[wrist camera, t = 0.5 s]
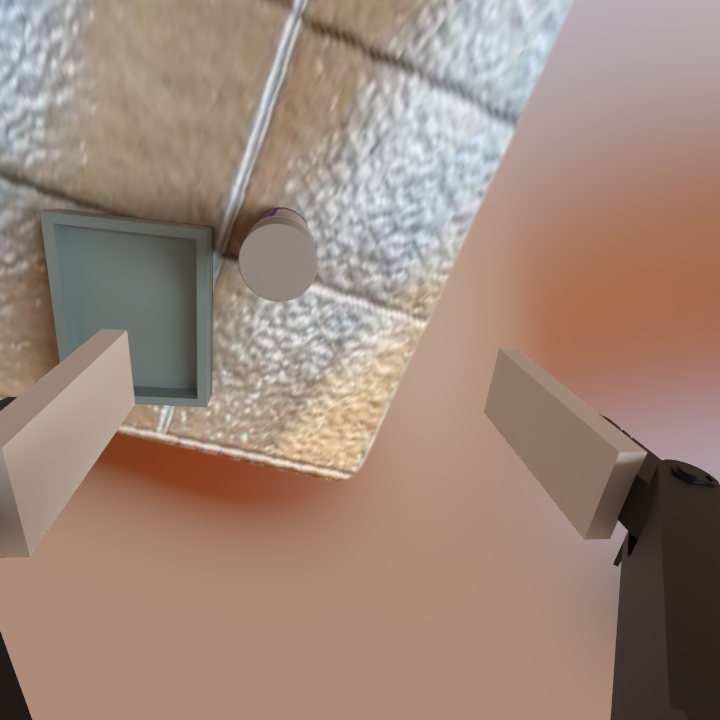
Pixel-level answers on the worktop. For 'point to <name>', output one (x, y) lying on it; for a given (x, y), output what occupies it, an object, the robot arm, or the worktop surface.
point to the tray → (136, 297)
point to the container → (278, 256)
